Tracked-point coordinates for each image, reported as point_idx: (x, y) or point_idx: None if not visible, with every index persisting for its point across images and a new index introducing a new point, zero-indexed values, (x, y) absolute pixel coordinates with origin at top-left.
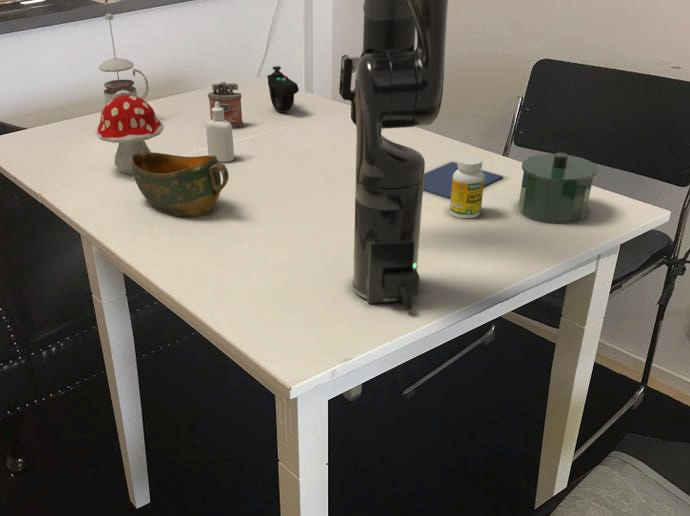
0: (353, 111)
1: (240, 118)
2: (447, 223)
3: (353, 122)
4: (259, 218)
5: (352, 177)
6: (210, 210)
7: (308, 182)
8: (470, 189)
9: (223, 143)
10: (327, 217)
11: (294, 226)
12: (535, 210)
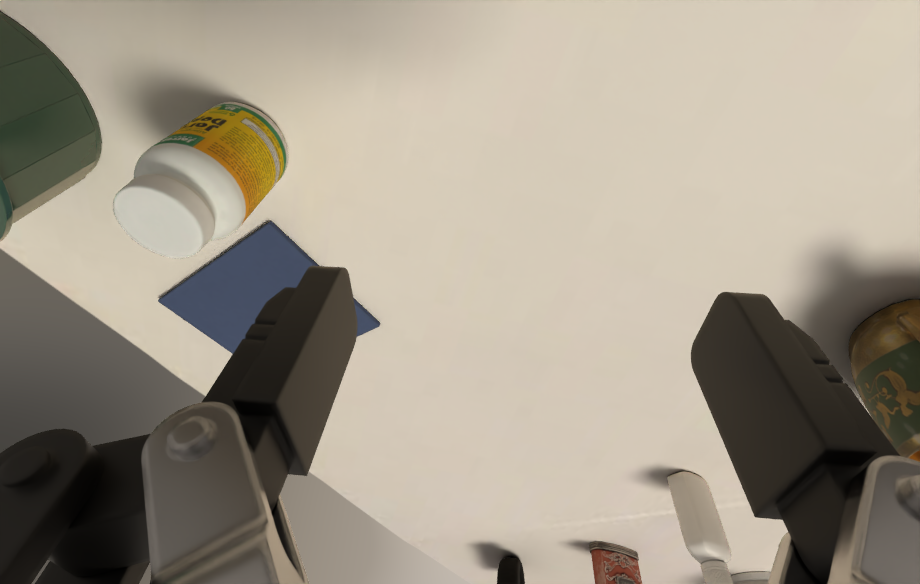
0: (851, 400)
1: (596, 558)
2: (303, 87)
3: (796, 328)
4: (791, 251)
5: (479, 374)
6: (883, 312)
7: (577, 377)
8: (193, 135)
9: (701, 508)
10: (620, 212)
11: (735, 182)
12: (14, 48)
